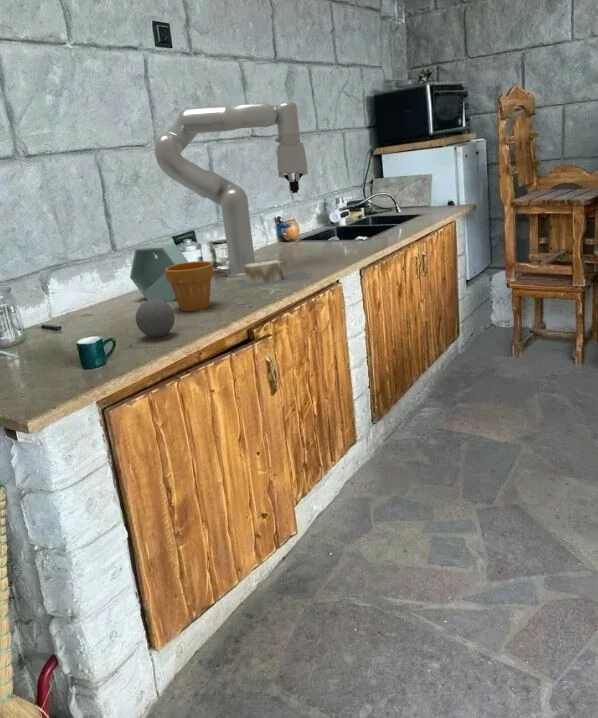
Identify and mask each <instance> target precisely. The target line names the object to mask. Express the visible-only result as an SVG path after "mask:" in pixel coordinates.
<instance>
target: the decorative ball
mask: <svg viewBox="0 0 598 718" xmlns="http://www.w3.org/2000/svg"><path fill="white" fill-rule="evenodd" d="M175 321H176V320H175V313H174V310H173V307H172V306H170V304H168V303H167V302H166V301H162V300H159V299H151V300H147V299H146V300H145V301H144V302H142V303H141V304H140V305H139V307H138V309H137V311H136V313H135V323H136V326H137V327H138V329H139V330H140V332H141V333H142V334H143V335H145V336H147V337H151V338H159V337H164V336H165V335H167V334H169V332H170V331H171V330H172V329H173V327H174V325H175Z"/></svg>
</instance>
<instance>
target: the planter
mask: <svg viewBox="0 0 598 718" xmlns="http://www.w3.org/2000/svg"><path fill="white" fill-rule="evenodd" d="M156 257H157V258H156ZM186 262H189V261H188V259H187V258H186V257H185V255H184V254H183V252H181V250H180V249H179V247H178V246H177V244H176V243H173V242H171V243H153V244H152V243H151V244H145V245H143V246H140V247H136V248H135V249H134V253H133V259H132V263H131V269H130V275H129V278H130V280H131V281H132V282H133V284H134V285H135V286H136V287H137V289H138V291H140V293H141V294H142V295H143V297H144V298H145V299H146V301H147V300H151V299H159V300H162V301H164V302H166V301H167V302H168V301H169V302H170V301H177V299H176V297H175V294H174V291H173V288H172V286H171V283H170V282H168V281H167V277H166V272H165V269H166V268H167V267H169V266H172V265H176V264H180V263H186Z"/></svg>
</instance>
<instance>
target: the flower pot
mask: <svg viewBox="0 0 598 718" xmlns="http://www.w3.org/2000/svg"><path fill="white" fill-rule="evenodd" d="M165 272H166V277H167V281H168V282H170V283H171V286H172V288H173V291H174V294H175V297H176V301H177V304H178V307H179V309H180V310H181V311H182V312H183V311H184V312H194V311H195V310H196V311H199V310H204V308H205V309H206V308H207V309H208V308H209V306H210V301H211V288H212V286H211V285H212V278H213V277H214V274H215V273H214V264H213V262H211V261H206V260H201V261H200V260H199V261H188V262H186V263H180V264H176V265H172V266H169V267H167V268H166V269H165Z"/></svg>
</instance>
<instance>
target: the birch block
mask: <svg viewBox="0 0 598 718" xmlns="http://www.w3.org/2000/svg"><path fill="white" fill-rule="evenodd" d="M244 267H245V275H246V276H245V280H246V282H247V283H248V285H251V284H258V283H265V282H272V281H280V280H283V265H282V262H281V260H279V259H274V260H267V261H262V262H261V261H259V262H255V263H252V264H245V265H244Z"/></svg>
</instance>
